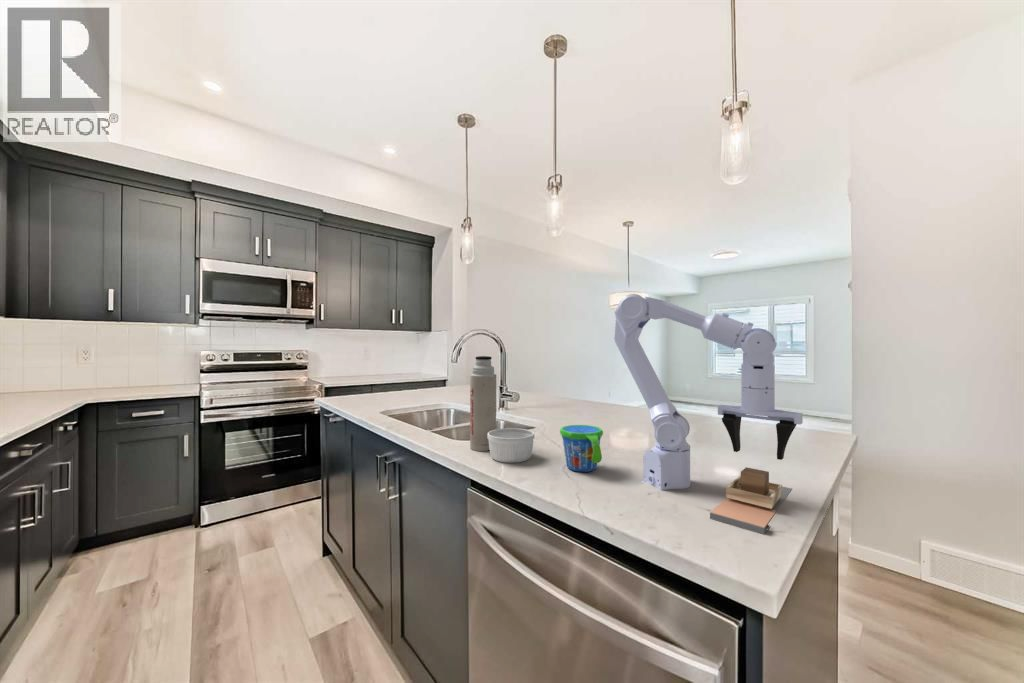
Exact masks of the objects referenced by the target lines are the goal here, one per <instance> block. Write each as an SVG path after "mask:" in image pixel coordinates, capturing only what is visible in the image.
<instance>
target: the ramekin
mask: <svg viewBox="0 0 1024 683" xmlns="http://www.w3.org/2000/svg"><path fill="white" fill-rule="evenodd" d="M487 438H488V440H489V449H490V451H489V455H490V457H491V458H492V459H493V460H494V461H497V462H500V463H506V464H507V463H508V464H509V463H510V464H511V463H512V464H513V463H522V462H525V461H528V460H529V459H530V458H531V456H532V454H533V449H534V440H535V432H534V431H532V430H530V429H526V428H525V429H524V428H519V427H517V428H516V427H506V428H505V427H504V428H496V429H495V430H492V431H489V432H488V436H487Z"/></svg>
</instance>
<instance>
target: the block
mask: <svg viewBox="0 0 1024 683" xmlns="http://www.w3.org/2000/svg"><path fill="white" fill-rule="evenodd" d="M740 476H741V490H743V491H747V492H751V493H756V494H760V495H764V496H766V495H767V494H768V492H769V483H770V471H767V470H762V469H757V468H752V467H747V466H746V467H744V469H743V470H741V471H740Z"/></svg>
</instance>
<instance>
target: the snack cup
mask: <svg viewBox="0 0 1024 683" xmlns="http://www.w3.org/2000/svg"><path fill="white" fill-rule="evenodd" d="M559 433H560V435H561V438H562V444H563V451H564V456H565V463H566V468H568V469H569V470H571V471H573V472H581V473H585V472H592V471H594V470H596V469H597V466H598V464H599V463H600V462H601V461H602V459H603V457H602V456H603V455H602V450H601V446H600V445H601V438H602V437H603V435H604V430H603V429H602V428H601V427H598V426H595V425H594V426H593V425H588V424H569V425H565V426H562V427H561V428H560V430H559Z"/></svg>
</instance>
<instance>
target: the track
mask: <svg viewBox="0 0 1024 683" xmlns="http://www.w3.org/2000/svg"><path fill="white" fill-rule="evenodd" d="M791 491H793V488H792V487H786V486H783V485H782V496H781V497H780V500H778V501H777V503H776V504H775V505H774V507H773V509H770V508H766V507H762V506H758V505H754V504H750V503H746V502H742V501H738V500H734V499H731V498H727V497H726V498H724V499H723V500H722V501H721V502H720V503H719V504H718V505H717V506H716V507H714V508H713V509H712V510H711V511H710V512H709V519H711V520H713V521H718V522H721V523H724V524H727V525H730V526H731V525H732V526H734V527H738V528H741V529H745V530H748V531H752V532H755V533H758V534H762V535H765V533H766V532H767V531H768V529H769V528H770V526H771V525H770V524H769V522H770V521H771V520H772V518H773V516H774V515H775V514H776V512H777V511H778V510H779V509H780V507H781V506H782V504H783V503H784V501H785V500H786V498H787V497H788V495H790V493H791Z"/></svg>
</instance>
